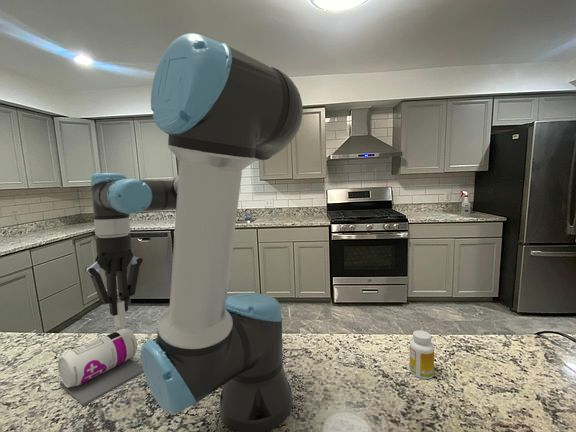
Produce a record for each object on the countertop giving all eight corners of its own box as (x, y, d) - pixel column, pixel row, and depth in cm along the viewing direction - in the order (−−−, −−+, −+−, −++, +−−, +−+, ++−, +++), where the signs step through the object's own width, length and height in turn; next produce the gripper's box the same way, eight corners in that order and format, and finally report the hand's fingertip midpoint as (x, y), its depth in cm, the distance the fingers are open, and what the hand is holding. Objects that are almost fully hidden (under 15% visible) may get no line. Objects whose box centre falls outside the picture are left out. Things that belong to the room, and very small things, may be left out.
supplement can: (141, 341, 73) (74, 373, 61) (134, 362, 76) (69, 397, 63) (125, 321, 77) (59, 347, 64) (119, 342, 79) (55, 371, 67)
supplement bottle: (436, 371, 67) (437, 333, 67) (430, 383, 63) (430, 342, 63) (413, 362, 71) (414, 326, 70) (406, 373, 67) (406, 334, 66)
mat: (146, 370, 71) (146, 368, 71) (82, 406, 59) (82, 404, 59) (121, 355, 78) (120, 353, 78) (59, 384, 66) (59, 382, 66)
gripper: (132, 231, 77) (137, 313, 79) (76, 238, 66) (84, 332, 68) (146, 232, 73) (152, 319, 75) (90, 240, 62) (98, 341, 64)
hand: (120, 325), depth 71 cm, fingers closed
